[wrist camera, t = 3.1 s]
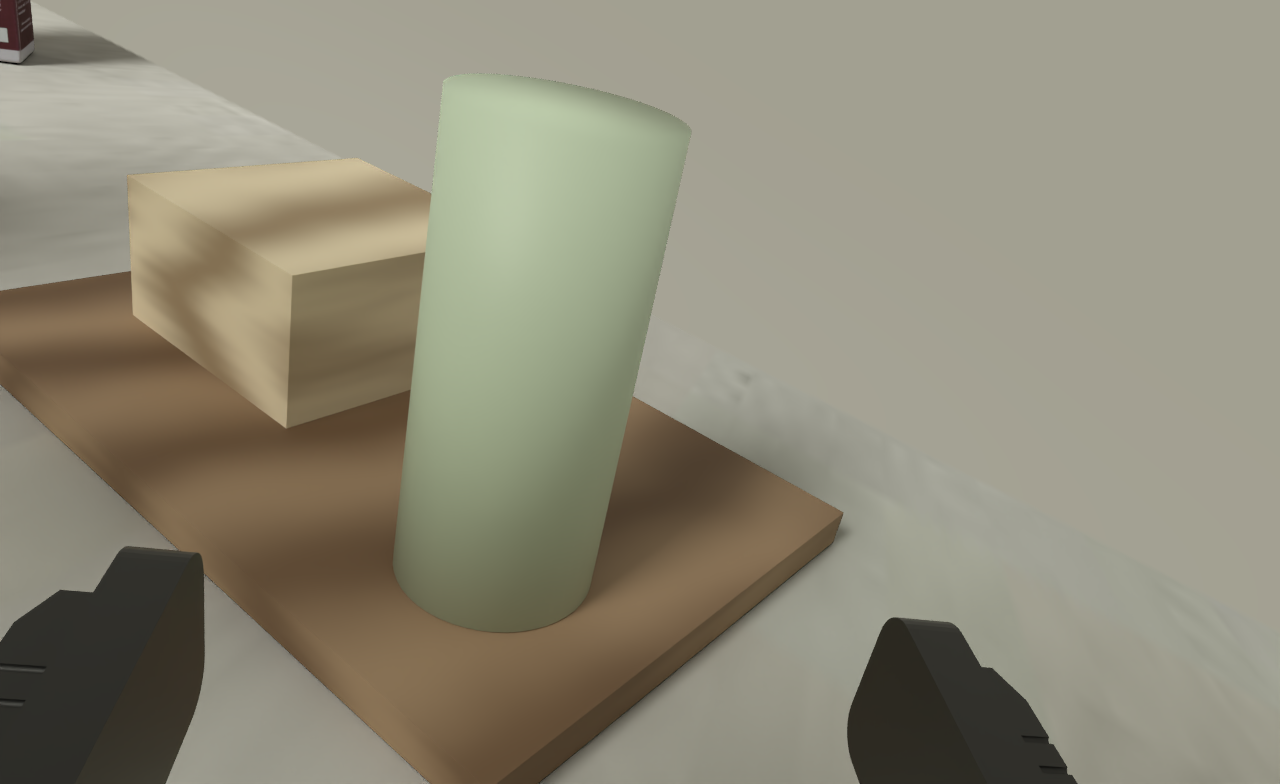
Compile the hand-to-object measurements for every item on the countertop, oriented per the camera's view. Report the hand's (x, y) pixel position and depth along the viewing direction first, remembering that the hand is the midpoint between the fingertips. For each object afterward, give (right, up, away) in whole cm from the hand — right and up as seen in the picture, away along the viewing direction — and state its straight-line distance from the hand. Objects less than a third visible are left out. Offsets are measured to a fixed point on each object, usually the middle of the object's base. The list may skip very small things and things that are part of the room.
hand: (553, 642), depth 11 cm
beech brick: (-10, +5, +23) cm, 26 cm away
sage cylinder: (-3, -2, +14) cm, 14 cm away
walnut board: (-7, +1, +20) cm, 22 cm away
